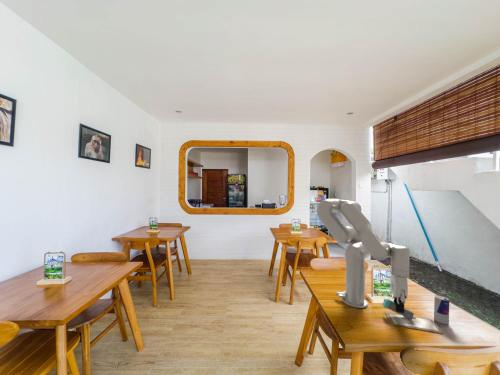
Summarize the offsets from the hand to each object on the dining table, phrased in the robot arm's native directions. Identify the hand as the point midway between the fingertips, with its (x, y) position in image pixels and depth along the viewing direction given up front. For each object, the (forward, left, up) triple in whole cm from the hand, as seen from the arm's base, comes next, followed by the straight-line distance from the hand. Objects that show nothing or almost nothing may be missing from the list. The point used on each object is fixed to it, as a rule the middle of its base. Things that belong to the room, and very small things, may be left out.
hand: (398, 309), depth 112 cm
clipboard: (+5, -3, -4) cm, 7 cm away
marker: (+5, -1, -2) cm, 5 cm away
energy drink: (+18, +1, -4) cm, 18 cm away
